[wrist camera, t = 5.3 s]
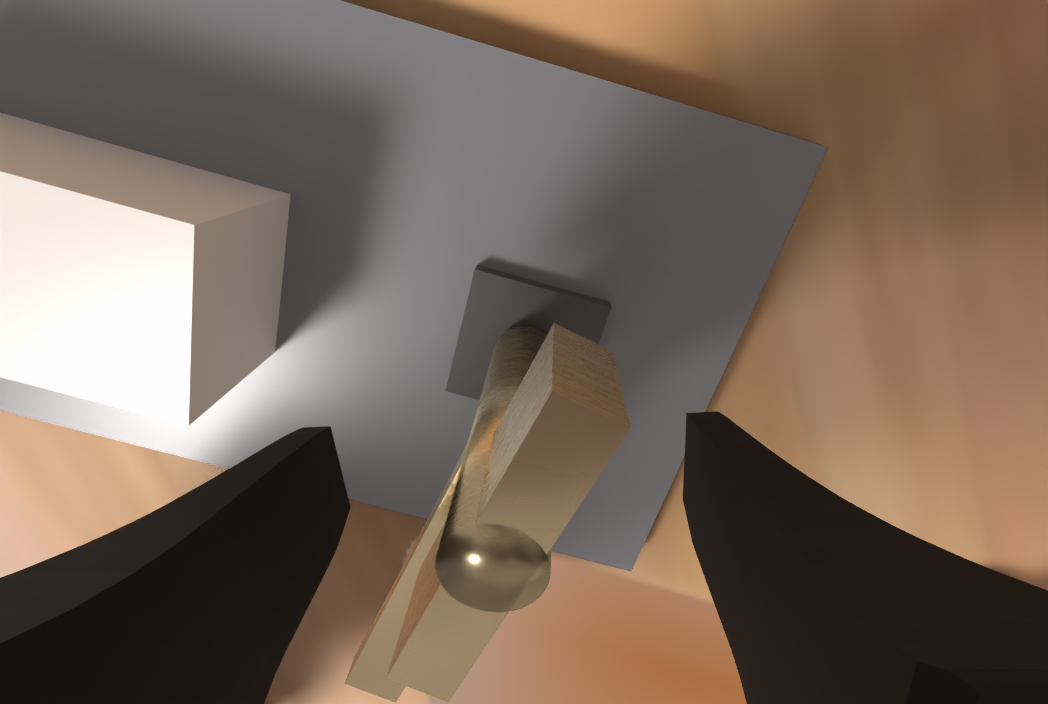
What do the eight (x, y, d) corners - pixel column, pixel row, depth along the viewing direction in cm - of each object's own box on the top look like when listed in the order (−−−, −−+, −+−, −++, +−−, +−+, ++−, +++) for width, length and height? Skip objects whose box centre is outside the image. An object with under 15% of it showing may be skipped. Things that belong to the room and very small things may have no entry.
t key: (605, 273, 15) (649, 437, 8) (436, 572, 20) (358, 860, 12) (546, 243, 15) (530, 382, 7) (388, 553, 20) (280, 833, 12)
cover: (275, 352, 18) (188, 425, 14) (-48, 265, 17) (-240, 315, 13) (290, 194, 16) (194, 225, 12) (-75, 91, 15) (-311, 85, 11)
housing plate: (627, 551, 21) (632, 582, 20) (-15, 386, 20) (-57, 406, 19) (812, 145, 15) (837, 148, 14) (-86, -126, 14) (-156, -152, 13)
